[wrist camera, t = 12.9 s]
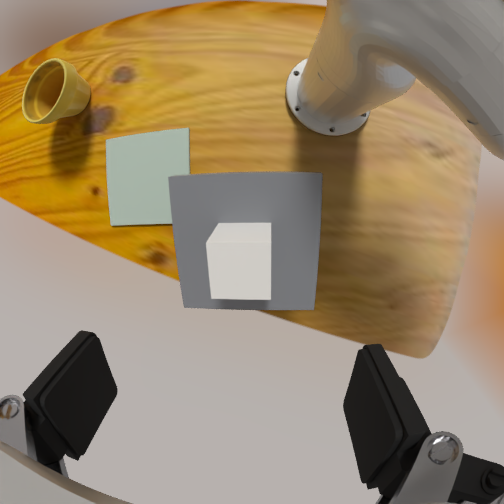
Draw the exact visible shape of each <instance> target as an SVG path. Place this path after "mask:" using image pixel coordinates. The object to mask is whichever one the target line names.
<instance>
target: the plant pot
mask: <svg viewBox="0 0 504 504" xmlns="http://www.w3.org/2000/svg"><path fill="white" fill-rule="evenodd" d="M90 95H91V89H90V86H89V84H88V83H87V82H86V81H85V80H84V79H83V78H82V77H81V76H80V75H79V74H77V71H76V69H75V67H74V66H73V65H72V64H70V63H68V62H66V61H64V60H61V59H57V58H54V59H50V60H47V61H45V62H44V63H42V64H41V65H40V66H39V67H38V68H37V69H36V70H35V71H34V73H33V74H32V75H31V77H30V79H29V80H28V82H27V85H26V87H25V90H24V93H23V99H22V110H23V114H24V116H25V118H26V119H27V120H28V121H29V122H31V123H38V124H47V123H52V122H54V121H56V120H57V119H59V118H63V117H69V116H74V115H77V114H79V113H81V112H82V111H83V110H84V109H85V107H86V106H87V104H88V102H89V99H90Z"/></svg>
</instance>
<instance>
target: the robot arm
mask: <svg viewBox="0 0 504 504" xmlns="http://www.w3.org/2000/svg"><path fill="white" fill-rule="evenodd" d="M294 74H297V75H298V76H295V75H294ZM416 78H417V79H418V80H419V81H420V82H421V83H423V84H424V85H425V86H426V87H427V88H429V89H430V90H431V91H432V92H434V93H435V94H436V95H437V96H438V97H439V98H440V99H441V100H442V101H443V102H444V103H445V104H446V105H447V106H448V107H449V108H450V109H451V110H452V111H453V112H454V113H455V114H456V116H457V117H458V118H459V119H460V120H461V121H462V122H463V123H464V124H465V125H466V127H467V128H468V129H469V130H470V131H471V132H472V133H473V134H474V136H475V137H476V138H477V139H478V140H479V141H480V142H481V143H482V144H483V146H484V147H485V148H487V150H489V151H490V152H491V153H492V154H494V155H495V156H497V157H498V158H500V159H502V160H504V0H327V8H326V13H325V17H324V20H323V23H322V26H321V28H320V31H319V33H318V36H317V38H316V41H315V43H314V45H313V48H312V50H311V53H310V55H309V57H308V58H307V59H304V60H303V61H301V62H300V63H298V64H297V65H296V66H295V67H294V68H293V69H292V71H291V73H290V74H289V77H288V79H287V83H286V98H287V102H288V105H289V107H290V109H291V111H292V113H293V114H294V116H295V117H296V118H297V119H298V120H299V121H300V122H301V123H302V124H303V125H305V126H306V127H307V128H309V129H311V130H313V131H315V132H317V133H320V134H324V135H330V136H338V135H344V134H348V133H350V132H353V131H355V130H356V129H358V128H359V127H360V126H361V125H362V124H363V123H364V122H365V121H366V120H367V118H368V116H369V114H370V111H371V110H372V109H374V108H376V107H378V106H380V105H382V104H385V103H387V102H389V101H391V100H393V99H395V98H397V97H399V96H401V95H403V94H404V93H406V92H407V91H408V90H409V89H410V88H411V86H412V85H413V84H414V82H415V80H416ZM296 108H298V109H299V111H296V110H295V109H296ZM361 115H363V117H362V116H361ZM329 129H332V132H330V130H329ZM116 395H117V386H116V384H115V381H114V378H113V376H112V373H111V371H110V368H109V366H108V363H107V360H106V357H105V354H104V351H103V348H102V345H101V342H100V339H99V338H98V337H97V336H96V334H95V333H93V332H88V331H80V332H78V334H77V335H76V336H75V337H74V338H73V339H72V340H71V341H70V342H69V343H68V344H67V345H66V346H65V347H64V348H63V349H62V350H61V352H60V353H59V354H58V355H57V356H56V357H55V358H54V359H53V360H52V361H51V362H50V363H49V365H48V366H47V367H46V368H45V369H44V370H43V371H42V373H41V374H40V375H39V376H38V377H37V378H36V379H35V380H34V382H33V383H32V384H31V385H30V386H29V387H28V389H27V390H26V391H25V392H24V393H23V396H24V397H25V399H26V400H25V402H23V400H22V399H21V398H20V397H19V396H16V395H9V396H5V397H4V398H2V399H1V400H0V504H132V503H129V502H126V501H123V500H120V499H117V498H114V497H112V496H109V495H106V494H103V493H101V492H98V491H96V490H93V489H91V488H89V487H86V486H84V485H81V484H80V483H78V482H75V481H73V480H71V479H69V477H68V474H67V470H66V467H65V463H64V459H63V456H64V455H65V454H66V455H67V456H68V457H71V458H73V459H75V460H77V461H78V460H79V458H80V456H81V455H84V454H85V452H86V450H87V448H88V446H89V444H90V443H91V440H92V439H93V437H94V435H95V433H96V431H97V430H98V428H99V426H100V424H101V422H102V420H103V419H104V417H105V415H106V413H107V411H108V410H109V408H110V406H111V404H112V403H113V401H114V399H115V397H116ZM343 408H344V413H345V417H346V421H347V424H348V428H349V432H350V436H351V440H352V444H353V448H354V452H355V457H356V461H357V465H358V470H359V474H360V478H361V481H362V483H366V484H367V488H368V489H372V488H376V487H378V489H379V492H380V494H381V496H380V498H379V499H378V501H377V502H376V504H504V467H503V466H502V465H500V464H497V463H493V462H490V461H487V460H483V459H480V458H477V457H474V456H471V455H468V454H465V453H463V446H462V443H461V441H460V440H459V438H457V437H456V436H455V435H454V434H452V433H449V432H443V431H441V432H436V433H433V434H431V432H430V430H429V428H428V426H427V424H426V421H425V419H424V417H423V415H422V413H421V411H420V409H419V408H418V406H417V404H416V402H415V400H414V398H413V396H412V394H411V392H410V390H409V388H408V386H407V385H406V383H405V381H404V380H403V378H401V377H399V376H398V374H397V372H396V370H395V368H394V366H393V364H392V363H391V361H390V359H389V357H388V355H387V354H386V352H385V350H384V348H383V347H382V345H381V344H371V345H364V347H363V349H361V350H359V351H358V353H357V357H356V361H355V365H354V368H353V372H352V376H351V379H350V383H349V386H348V389H347V393H346V396H345V399H344V404H343Z"/></svg>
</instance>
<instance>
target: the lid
mask: <svg viewBox="0 0 504 504" xmlns="http://www.w3.org/2000/svg"><path fill="white" fill-rule="evenodd" d="M168 182H169V194H170V205H171V215H172V225H173V234H174V242H175V250H176V258H177V265H178V272H179V279H180V285H181V291H182V298H183V304H184V307H185V308H208V309H237V310H240V309H241V310H314V305H315V294H316V284H317V272H318V259H319V245H320V228H321V206H322V173H321V172H226V173H204V174H188V175H174V176H170V177H168Z"/></svg>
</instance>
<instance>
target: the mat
mask: <svg viewBox="0 0 504 504" xmlns="http://www.w3.org/2000/svg"><path fill="white" fill-rule="evenodd" d="M106 167H107V187H108V201H109V212H110V222H111V226H113V225H139V224H172V215H171V205H170V194H169V182H168V177H170V176H174V175H188V174H190V139H189V128H181V129H172V130H164V131H156V132H149V133H142V134H135V135H129V136H124V137H118V138H113V139H108V140H106Z"/></svg>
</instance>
